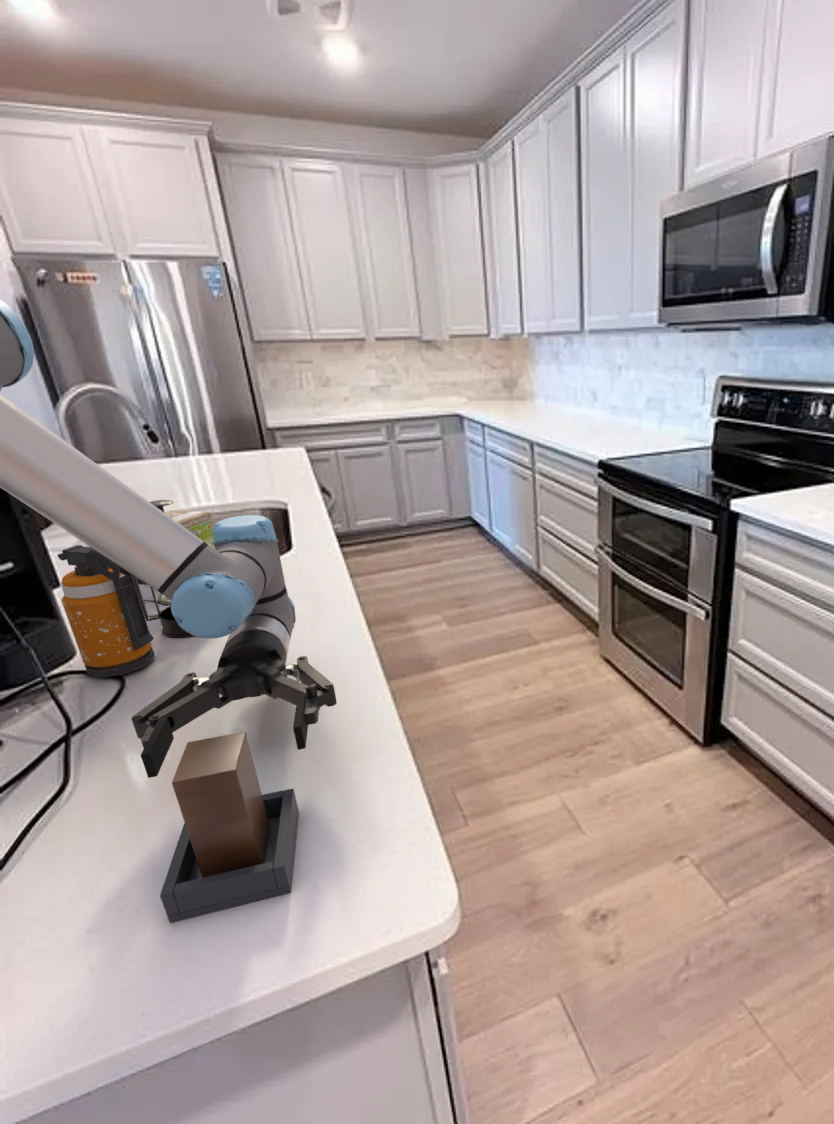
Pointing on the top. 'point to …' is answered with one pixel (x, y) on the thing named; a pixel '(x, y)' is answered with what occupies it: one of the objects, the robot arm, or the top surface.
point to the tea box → (189, 521)
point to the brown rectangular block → (222, 804)
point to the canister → (104, 614)
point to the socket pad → (213, 893)
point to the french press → (163, 598)
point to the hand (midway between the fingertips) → (226, 751)
